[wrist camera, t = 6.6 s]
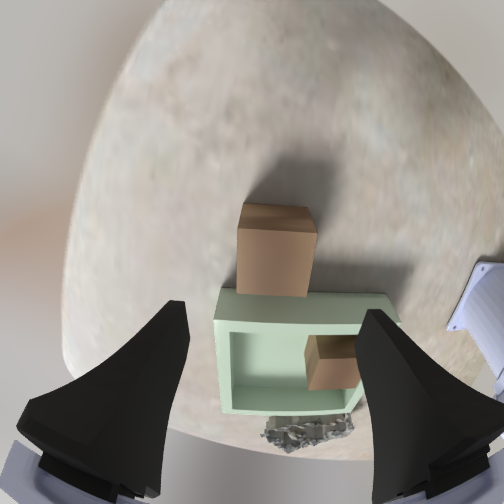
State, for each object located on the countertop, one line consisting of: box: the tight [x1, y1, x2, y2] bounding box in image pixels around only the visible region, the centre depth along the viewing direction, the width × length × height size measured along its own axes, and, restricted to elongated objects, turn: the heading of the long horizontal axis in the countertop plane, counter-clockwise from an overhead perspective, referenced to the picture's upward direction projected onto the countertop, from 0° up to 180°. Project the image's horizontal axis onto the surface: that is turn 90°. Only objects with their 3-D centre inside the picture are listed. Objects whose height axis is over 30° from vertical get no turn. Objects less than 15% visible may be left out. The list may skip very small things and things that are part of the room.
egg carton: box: [260, 413, 355, 453], centre depth 28 cm, size 11×8×4 cm
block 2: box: [304, 334, 361, 390], centre depth 20 cm, size 4×4×4 cm
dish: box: [214, 288, 401, 416], centre depth 21 cm, size 13×13×4 cm
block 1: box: [236, 203, 318, 297], centre depth 16 cm, size 4×4×4 cm
